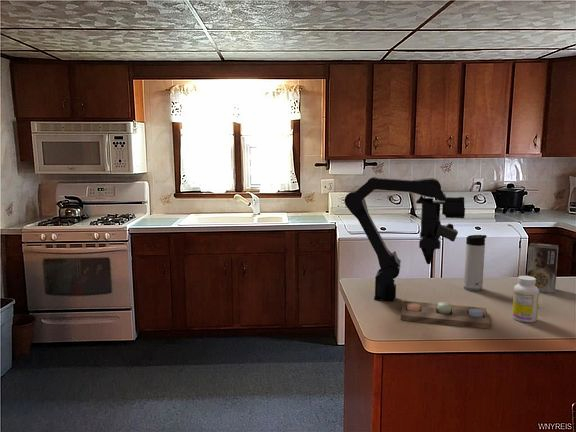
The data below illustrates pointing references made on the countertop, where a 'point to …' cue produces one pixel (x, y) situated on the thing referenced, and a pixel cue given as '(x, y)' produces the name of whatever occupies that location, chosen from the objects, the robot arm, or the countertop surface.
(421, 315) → the button panel
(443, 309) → the sage button
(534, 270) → the coffee box
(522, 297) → the supplement bottle
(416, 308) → the terracotta button
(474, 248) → the travel mug
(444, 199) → the robot arm
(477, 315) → the slate button
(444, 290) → the countertop surface
